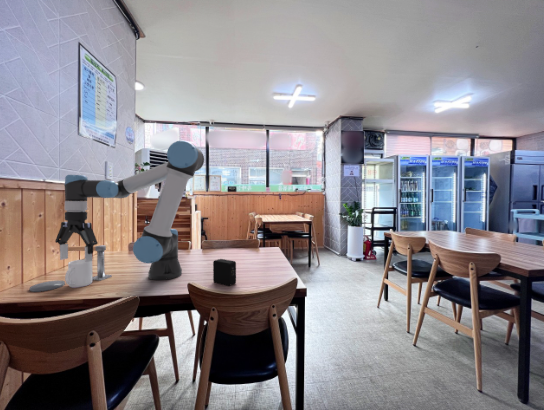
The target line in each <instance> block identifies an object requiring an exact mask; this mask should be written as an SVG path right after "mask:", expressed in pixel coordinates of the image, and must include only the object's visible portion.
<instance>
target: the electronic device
mask: <svg viewBox="0 0 544 410" xmlns="http://www.w3.org/2000/svg"><path fill="white" fill-rule="evenodd" d="M212 265H213V267H212V271H213V272H212V273H213V276H212V279H213V280H212V281H213V283H215V284H218V285H222V286H227V287H230V286H232V285H235V284H236V283H237V263H236V261H234V260H230V259H225V258H224V259H223V258H218V259H215V260H213V261H212Z"/></svg>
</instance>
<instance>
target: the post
mask: <svg viewBox="0 0 544 410" xmlns="http://www.w3.org/2000/svg"><path fill="white" fill-rule="evenodd" d="M96 262H97V269H96V271H97V275H95V276H94V275H93V276H92V281H103V280H106V279H109V278H111V277H113V275H112V274H105V271H106V270H105V250H104V251H96Z"/></svg>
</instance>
